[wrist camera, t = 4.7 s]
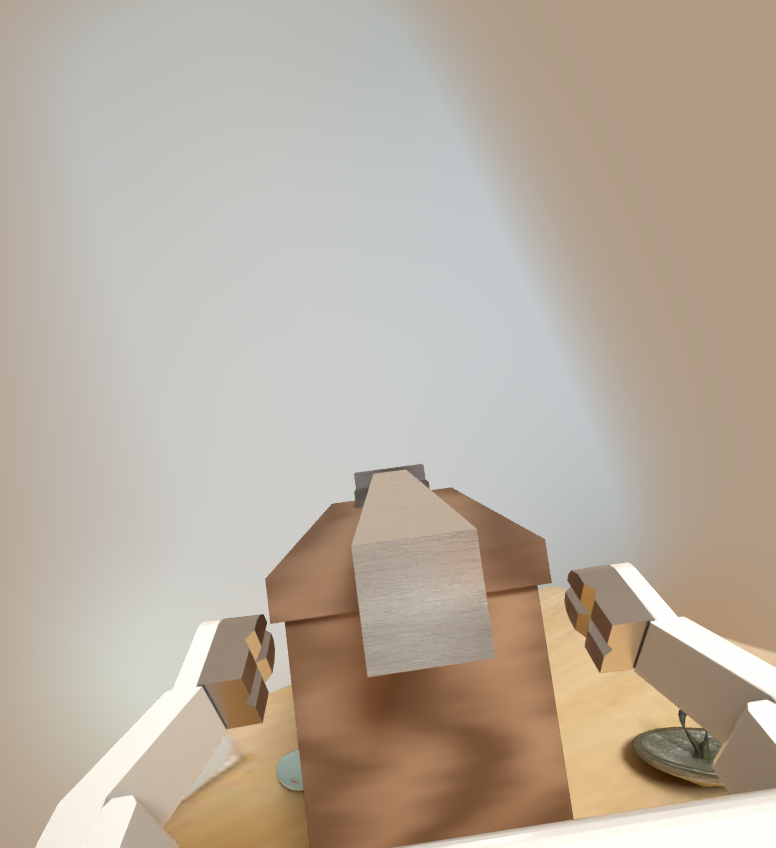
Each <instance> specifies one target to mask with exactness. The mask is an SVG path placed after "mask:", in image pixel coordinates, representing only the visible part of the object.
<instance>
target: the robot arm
mask: <svg viewBox="0 0 776 848" xmlns="http://www.w3.org/2000/svg"><path fill="white" fill-rule="evenodd" d="M568 582H569V584H570V585H571V587H570V588H569V589H568V590H567V591H566V592H565V606H566V611H567V614H568V616H569V619H570V621H571V623H572V625H573V627H574V628H575V630H576V631H578V632H579V633H581V634H582V635H583V636H585V637H586V640H585V648H586V650H587V651H588V653H589V655H590V657H591V658H592V660H593V662H594V664H595V665H596V667H597V669H598V670H599V672H600V673H606V672H615V671H624V670H632V669H635V672H636V673H637V674H638V675H639V676H641V677H642V678H643V679H644V680H646V681H647V682H648V683H649V684H650V685H652V686H653V687H654V688H655V689H656V690H658V691H659V692H660V693H661V694H663V695H664V696H665V697H666V698H667V699H669V700H670V701H671V702H672V703H673V704H675V705H676V706H677V707H678V708H680V709H681V710H682V711H683V712H684V713H686V714H687V715H688V716H689V717H690V718H692V719H693V720H694V721H695V722H697V723H698V724H699V725H700V726H701V727H703V728H704V729H705V730H706V731H707V732H709V733H710V734H711V735H712V736H714V737H715V738H716V739H717V740H718V741H720V742H721V743H722V744H723V746H722V747H721V749H720V751H719V752H718V754H717V756H716V757H715V759H714V762H713V770H714V771H715V773H716V774H717V776H718V777H719V779H720V780H721V782H722V783H723V785H724V786H725V788H726V789H727V791H728V792H729V794H730V795H726V796H720V797H713V798H707V799H700V800H694V801H688V802H681V803H675V804H669V805H662V806H656V807H649V808H643V809H637V810H630V811H624V812H618V813H611V814H605V815H598V816H592V817H586V818H579V819H573V820H567V821H560V822H554V823H547V824H541V825H535V826H528V827H522V828H515V829H509V830H503V831H496V832H490V833H484V834H477V835H471V836H464V837H458V838H452V839H445V840H439V841H433V842H426V843H420V844H413V845H407V846H401V847H394V848H776V668H775V667H773V666H772V665H770V664H768V663H766V662H765V661H763V660H761V659H759V658H757V657H756V656H754V655H752V654H750V653H748V652H747V651H745V650H743V649H741V648H739V647H738V646H736V645H734V644H732V643H730V642H729V641H727V640H725V639H723V638H721V637H720V636H718V635H716V634H714V633H713V632H711V631H709V630H707V629H705V628H704V627H701V626H700V625H698V624H696V623H695V622H693V621H691V620H689V619H687V618H686V617H677V616H676V614H675V613H674V612H673V611H672V610H671V609H670V608H669V606H668V605H667V604H666V603H665V602H664V600H663V599H662V598H661V597H660V596H659V595H658V594H657V592H656V591H655V590H654V589H653V588H652V587H651V586H650V584H649V583H648V582H647V581H646V580H645V579H644V578H643V576H642V575H641V574H640V573H639V572H638V571H637V569H636V568H635V567H634V566H633V565H631V564H630V563H620V564H614V565H608V566H607V565H604V566H597V567H590V568H584V569H578V570H572V571H571V572H570V573H569V575H568ZM266 625H267V621H266V619H265V617H264V615H263V614H262V615H254V616H244V617H235V618H226V619H219V620H211V621H203V622H202V623H201V625H200V626H199V627H198V629H197V631H196V634H195V636H194V638H193V641H192V643H191V646H190V648H189V651H188V653H187V655H186V658H185V660H184V663H183V665H182V668H181V670H180V672H179V675H178V677H177V680H176V682H175V685H174V687H173V689H172V690H170V691H166V692H165V693H164V694H163V695H162V696H161V697H160V698H159V699H158V700H157V701H156V702H155V703H154V704H153V705H152V706H151V707H150V708H149V710H148V711H147V712H146V713H145V714H144V715H143V716H142V717H141V718H140V719H139V720H138V721H137V722H136V723H135V724H134V725H133V726H132V727H131V728H130V729H129V730H128V731H127V732H126V734H124V735H123V737H122V738H121V739H120V740H119V741H118V742H117V743H116V744H115V745H114V746H113V747H112V748H111V749H110V750H109V751H108V752H107V753H106V754H105V755H104V756H103V757H102V758H101V760H100V761H99V762H98V763H97V764H96V765H95V766H94V767H93V768H92V769H91V770H90V771H89V772H88V773H87V774H86V775H85V776H84V777H83V778H82V779H81V780H80V781H79V782H78V783H77V785H76V786H75V787H74V788H73V789H72V790H71V791H70V792H69V793H68V794H67V795H66V796H65V797H64V798H63V800H61V801H60V802H59V803H58V805H57V807H56V809H55V811H54V812H53V814H52V816H51V818H50V820H49V822H48V824H47V826H46V828H45V829H44V831H43V833H42V835H41V837H40V839H39V841H38V843H37V845H36V847H35V848H180V847H179V844H178V843H177V842H176V840H175V839H174V838H173V837H172V836H171V835H170V834H169V833H168V832H167V831H166V830H165V829H164V827H165V825H166V824H167V822H168V821H169V819H170V818H171V816H172V815H173V813H174V812H175V810H176V809H177V807H178V806H179V804H180V803H181V801H182V800H183V798H184V797H185V795H186V794H187V792H188V791H189V789H190V788H191V786H192V784H193V783H194V781H195V780H196V778H197V777H198V775H199V774H200V772H201V771H202V769H203V768H204V766H205V765H206V763H207V762H208V760H209V759H210V757H211V756H212V754H213V753H214V751H215V750H216V748H217V746H218V745H219V744H220V742H221V741H222V739H223V738H224V736H225V735H226V733H227V729H231V728H236V727H242V726H247V725H253V724H259V723H263V718H264V713H265V708H266V703H267V698H268V693H269V692H268V690H267V688H266V685H265V682H266V681H267V679H268V678H269V677H270V676H271V674H272V672H273V666H274V657H275V647H274V640H273V637H272V634H271V633H269V632H268V631H266V630H265V629H266Z"/></svg>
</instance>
